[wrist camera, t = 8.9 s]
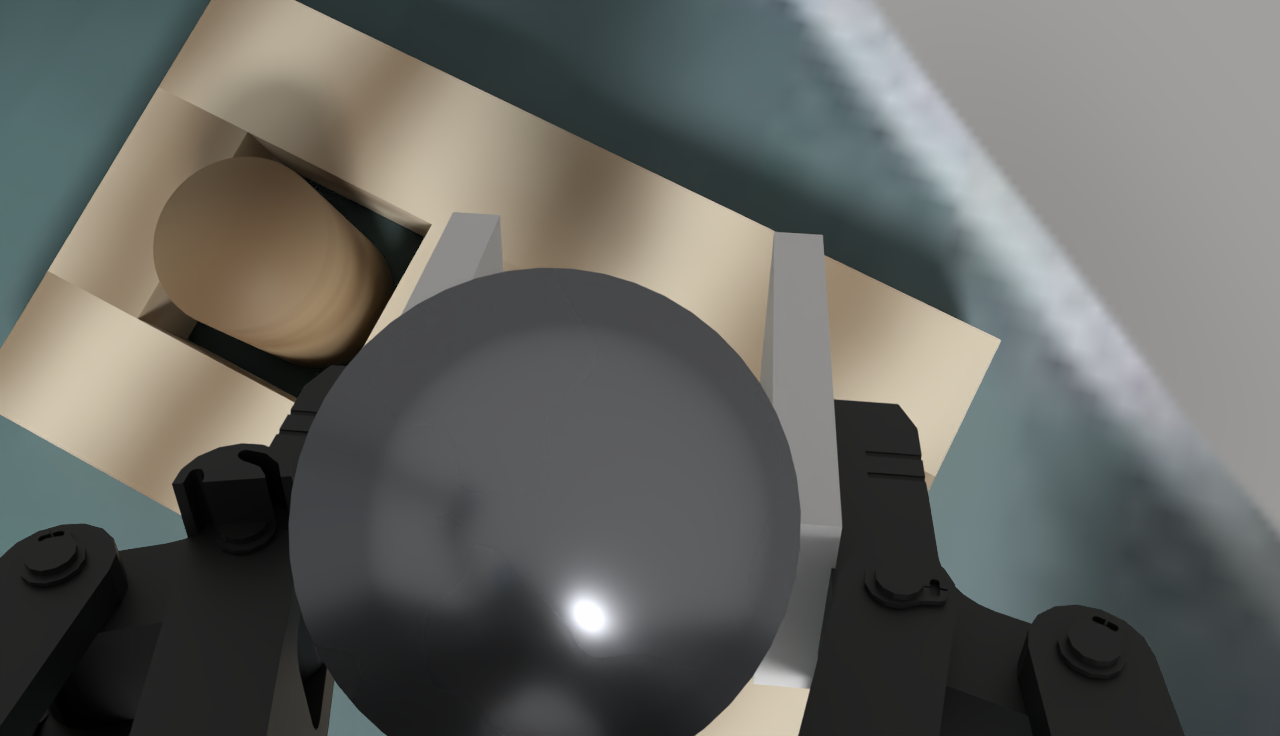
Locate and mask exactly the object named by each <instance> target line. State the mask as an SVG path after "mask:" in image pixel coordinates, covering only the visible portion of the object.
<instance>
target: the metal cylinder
mask: <svg viewBox="0 0 1280 736" xmlns="http://www.w3.org/2000/svg"><path fill="white" fill-rule="evenodd" d="M800 526H801V509H800V500H799V491H798V482H797V475H796V471H795V467H794V463H793V459H792V455H791V451H790V447H789V443H788V441H787V438H786V436H785V433H784V431H783V428H782V426H781V423H780V420H779V418H778V415H777V413H776V411H775V409H774V407H773V406H772V404H771V402H770V400H769V398H768V396H767V395H766V393H765V391H764V389H763V387H762V386H761V384H760V382H759V381H758V380H757V378H756V377H755V376H754V374H753V373H752V371H751V370H750V369H749V367H748V366H747V365H746V363H745V362H744V361H743V359H742V358H741V357H740V356H739V354H738V353H737V352H736V351H735V350H734V349H733V348H732V347H731V346H730V345H729V344H728V343H727V342H726V341H725V340H724V339H723V338H722V337H721V336H720V335H719V334H718V333H717V332H716V331H715V330H713V329H712V328H711V327H710V326H708V325H707V324H706V323H705V322H704V321H702V320H701V319H700V318H699V317H697V316H696V315H695V314H694V313H692V312H691V311H689V310H687V309H686V308H684V307H682V306H681V305H679V304H677V303H676V302H674V301H672V300H671V299H669V298H667V297H666V296H664V295H662V294H660V293H657V292H655V291H653V290H650V289H648V288H646V287H644V286H641V285H639V284H637V283H634V282H631V281H628V280H624V279H621V278H617V277H614V276H610V275H607V274H603V273H597V272H591V271H584V270H578V269H570V268H532V269H522V270H512V271H505V272H501V273H496V274H492V275H488V276H483V277H479V278H475V279H473V280H470V281H467V282H464V283H462V284H459V285H456V286H454V287H451V288H448V289H446V290H444V291H442V292H440V293H438V294H436V295H434V296H432V297H430V298H428V299H426V300H424V301H422V302H421V303H419V304H417V305H415V306H414V307H412V308H411V309H410V310H408V311H407V312H405V313H404V314H402V315H401V316H399V317H398V318H396V319H395V320H394V321H392V322H391V323H389V324H388V325H387V326H386V327H385V328H384V329H383V330H382V331H380V332H379V333H378V334H377V335H376V336H375V337H374V338H373V339H371V340H370V341H369V342H368V343H367V344H366V345H365V346H364V347H363V348H362V349H361V351H360V352H359V353H358V354H357V355H356V356H355V357H354V359H353V360H352V361H351V362H350V363H349V364H348V365H347V367H346V368H345V369H344V370H343V372H342V373H341V375H340V376H339V378H338V379H337V381H336V382H335V383H334V385H333V386H332V388H331V389H330V391H329V392H328V394H327V395H326V397H325V399H324V401H323V403H322V405H321V407H320V409H319V411H318V412H317V414H316V416H315V418H314V420H313V422H312V424H311V426H310V429H309V432H308V434H307V437H306V440H305V443H304V446H303V448H302V451H301V454H300V457H299V460H298V465H297V469H296V474H295V478H294V483H293V487H292V493H291V504H290V515H289V551H290V562H291V569H292V575H293V581H294V587H295V592H296V596H297V599H298V602H299V606H300V609H301V612H302V616H303V619H304V622H305V625H306V627H307V629H308V632H309V634H310V636H311V638H312V640H313V643H314V645H315V647H316V649H317V652H318V654H319V656H320V657H321V659H322V660H323V662H324V664H325V665H326V667H327V669H328V670H329V672H330V673H331V675H332V677H333V678H334V680H335V681H336V683H337V684H338V686H339V687H340V688H341V689H342V690H343V692H344V693H345V694H346V695H347V696H348V698H349V699H350V700H351V701H352V703H353V704H354V705H355V706H356V707H357V709H358V710H359V711H360V712H361V713H363V714H364V715H365V716H366V717H367V718H368V719H369V720H370V721H371V722H372V723H373V724H374V725H375V726H377V727H378V728H379V729H380V730H381V731H382V732H383V733H384V734H386V735H387V736H695V735H697V734H698V733H699V732H701V731H702V730H703V729H705V728H706V727H707V726H708V725H709V724H710V723H711V722H712V721H713V720H714V719H715V718H716V717H718V716H719V715H720V714H721V713H722V712H723V711H724V710H725V709H726V708H727V707H728V706H729V705H730V704H731V703H732V702H733V700H734V699H735V698H736V697H737V695H738V694H739V693H740V692H741V691H742V689H743V688H744V687H745V686H746V684H747V683H748V682H749V681H750V679H751V678H752V677H753V675H754V674H755V672H756V670H757V669H758V667H759V665H760V664H761V662H762V660H763V659H764V657H765V655H766V654H767V652H768V651H769V649H770V647H771V645H772V643H773V641H774V638H775V636H776V634H777V632H778V629H779V627H780V625H781V622H782V620H783V618H784V616H785V613H786V610H787V606H788V603H789V599H790V596H791V592H792V589H793V585H794V582H795V576H796V570H797V563H798V557H799V550H800Z"/></svg>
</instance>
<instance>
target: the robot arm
mask: <svg viewBox="0 0 1280 736" xmlns="http://www.w3.org/2000/svg"><path fill="white" fill-rule="evenodd" d="M501 272H504V271H503V255H502V240H501V224H500V215H493V214H477V213H461V212H453V213H452V215H451V217H450V219H449V221H448V223H447V225H446V227H445V229H444V231H443V233H442V235H441V237H440V239H439V241H438V243H437V245H436V247H435V249H434V251H433V253H432V255H431V257H430V259H429V261H428V263H427V265H426V267H425V269H424V271H423V273H422V275H421V276H420V278H419V280H418V282H417V284H416V286H415V288H414V290H413V292H412V294H411V296H410V298H409V300H408V302H407V304H406V306H405V308H404V310H403V312H402V314H404V313H405V312H407V311H408V310H410V309H411V308H412V307H414V306H415V305H417V304H419V303H421V302H422V301H424V300H426V299H428V298H430V297H432V296H434V295H436V294H438V293H440V292H442V291H444V290H446V289H448V288H451V287H454V286H456V285H459V284H462V283H464V282H467V281H470V280H473V279H475V278H479V277H483V276H488V275H492V274H496V273H501ZM402 314H401V315H402ZM346 367H347V366H335V365H331V366H329V367H328V368H327V369H326V370H324V371H323V372H322V373H320V374H319V375H318V376H316V377H315V378H314V379H313V380H311V381H310V382H309V383H307V384H306V385H305V386H304V387H303V389H302V391H301V393H300V394H299V396H298V398H297V399H296V401H295V403H294V405H293V406H292V408H291V413H290V415H289V414H288V415H287V417H286V418H285V420H284V422H283V424H282V425H281V427H280V429H279V434H276V436H275V437H274V439H273V441H272V443H271V444H270V446H269V447H268V446H266V445H262V444H246V443H240V444H235V445H229V446H223V447H218V448H216V449H214V450H211V451H209V452H207V453H204V454H202V455H200V456H197V457H196V458H195V459H194V460H192V461H191V462H190V463H188V464H187V465H186V466H184V467H183V468H182V469H181V470H180V472H179V473H178V475H177V476H176V478H175V480H174V481H173V483H172V486H173V490H174V493H175V496H176V500H177V503H178V506H179V509H180V513H181V516H182V519H183V523H184V526H185V529H186V533H187V536H188V538H186V539H183V540H179V541H175V542H171V543H166V544H160V545H154V546H148V547H141V548H135V549H128V550H122V551H118V549H117V546H116V543H115V541H114V539H113V538H112V537H111V536H110V535H109V534H108V533H107V532H106V531H105V530H104V529H102V528H98V527H95V526H91V525H87V524H66V525H59V526H56V527H52V528H48V529H45V530H41V531H38V532H36V533H34V534H33V535H31V536H29V537H27V538H25V539H23V540H21V541H19V542H17V543H16V544H15V545H14V546H13V547H12V548H11V549H9V550H8V551H7V552H6V553H5V554H4V555H3V556H2V557H1V558H0V736H327V734H328V726H329V718H330V710H331V702H332V694H333V686H334V678H333V677H332V675H331V673H330V672H329V670H328V669H327V667H326V665H325V664H324V662H323V660H322V659H321V657H320V656H319V654H318V652H317V649H316V647H315V645H314V643H313V640H312V638H311V636H310V634H309V632H308V629H307V627H306V625H305V622H304V619H303V616H302V612H301V609H300V606H299V602H298V599H297V596H296V592H295V587H294V581H293V575H292V569H291V562H290V551H289V515H290V504H291V493H292V487H293V483H294V478H295V474H296V469H297V465H298V460H299V457H300V454H301V451H302V448H303V446H304V443H305V440H306V437H307V434H308V432H309V429H310V426H311V424H312V422H313V420H314V418H315V416H316V414H317V412H318V411H319V409H320V407H321V405H322V403H323V401H324V399H325V397H326V395H327V394H328V392H329V391H330V389H331V388H332V386H333V385H334V383H335V382H336V381H337V379H338V378H339V376H340V375H341V373H342V372H343V370H344V369H345V368H346ZM760 384H761V386H762V387H763V389H764V391H765V393H766V395H767V396H768V398H769V400H770V402H771V404H772V406H773V407H774V409H775V411H776V413H777V415H778V418H779V420H780V423H781V426H782V428H783V431H784V433H785V436H786V438H787V441H788V443H789V447H790V451H791V455H792V459H793V463H794V467H795V471H796V475H797V482H798V491H799V500H800V509H801V526H800V550H799V557H798V563H797V570H796V576H795V582H794V585H793V589H792V592H791V596H790V599H789V603H788V606H787V610H786V613H785V616H784V618H783V620H782V622H781V625H780V627H779V629H778V632H777V634H776V636H775V638H774V641H773V643H772V645H771V647H770V649H769V651H768V652H767V654H766V655H765V657H764V659H763V660H762V662H761V664H760V665H759V667H758V669H757V670H756V672H755V674H754V675H753V684H761V685H772V686H783V687H793V688H804V689H810V691H809V695H808V699H807V703H806V707H805V711H804V715H803V719H802V723H801V726H800V730H799V734H798V736H1185V735H1184V733H1183V730H1182V727H1181V725H1180V722H1179V719H1178V717H1177V714H1176V711H1175V709H1174V706H1173V703H1172V701H1171V698H1170V695H1169V692H1168V690H1167V687H1166V684H1165V682H1164V679H1163V676H1162V674H1161V671H1160V668H1159V666H1158V663H1157V660H1156V657H1155V655H1154V654H1153V652H1152V650H1151V649H1150V647H1149V646H1148V644H1147V642H1146V641H1145V639H1144V637H1142V636H1141V635H1140V634H1139V633H1138V632H1137V631H1135V630H1134V629H1133V628H1132V627H1131V626H1130V625H1128V624H1127V623H1126V622H1125V621H1123V620H1121V619H1119V618H1117V617H1115V616H1113V615H1111V614H1109V613H1107V612H1105V611H1102V610H1099V609H1095V608H1090V607H1085V606H1080V605H1068V606H1056V607H1053V608H1051V609H1049V610H1047V611H1045V612H1043V613H1041V614H1039V615H1037V617H1036V618H1035V620H1034V621H1033V623H1032V624H1030V623H1027V622H1024V621H1021V620H1019V619H1016V618H1013V617H1010V616H1007V615H1004V614H1001V613H998V612H995V611H993V610H991V609H988V608H986V607H984V606H981V605H979V604H977V603H976V602H974V601H973V600H971V599H970V598H968V597H967V596H965V595H963V594H962V593H961V592H960V591H959V590H958V589H957V588H956V587H955V584H954V582H953V581H952V580H951V578H950V577H949V575H948V574H947V572H946V571H945V569H944V568H943V567H941V564H940V561H939V558H938V552H937V546H936V540H935V534H934V527H933V521H932V515H931V509H930V503H929V497H928V490H927V484H926V482H925V472H924V466H923V460H921V457H922V453H921V447H920V441H919V435H918V429H917V427H916V426H915V425H914V423H913V422H912V421H911V420H910V418H909V417H908V416H907V414H906V413H905V412H904V411H903V409H902V408H901V407H900V405H899V404H892V403H878V402H864V401H851V400H837V399H834V395H833V380H832V365H831V350H830V335H829V320H828V305H827V290H826V275H825V260H824V245H823V235H816V234H800V233H784V232H774V238H773V248H772V258H771V269H770V279H769V289H768V300H767V310H766V320H765V331H764V341H763V351H762V362H761V372H760Z"/></svg>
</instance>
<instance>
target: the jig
mask: <svg viewBox="0 0 1280 736" xmlns="http://www.w3.org/2000/svg"><path fill="white" fill-rule="evenodd" d="M297 173H298V174H300V175H302V176H304V177H306V178H308V179H310V180H312V181H314V182H316V183H318V184H320V185H322V186H324V187H326V188H328V189H330V190H332V191H334V192H336V193H338V194H340V195H342V196H344V197H346V198H348V199H350V200H352V201H354V202H356V203H358V204H360V205H362V206H364V207H366V208H368V209H370V210H372V211H373V212H375V213H377V214H379V215H381V216H383V217H385V218H387V219H389V220H391V221H393V222H395V223H397V224H399V225H401V226H403V227H405V228H407V229H409V230H411V231H413V232H415V233H417V234H419V235H421V236H423V237H425V238H424V240H423V241H422V243H421V245H420V247H419V249H418V250H417V252H416V254H415V256H414V257H413V259H412V261H411V263H410V265H409V266H408V268H407V270H406V272H405V274H404V275H403V277H402V279H401V281H400V282H399V284H398V286H397V288H396V290H395V291H394V287H393V279H392V275H391V272H390V269H389V266H388V264H387V262H386V260H385V258H384V256H383V255H382V254H381V252H380V251H379V249H378V248H377V247H376V246H375V245H374V244H373V243H372V242H371V241H370V240H369V239H368V238H366V237H365V236H364V235H363V234H362V233H361V232H360V231H359V230H358V229H357V228H356V227H355V226H354V225H352V224H351V223H350V222H349V221H348V220H347V219H346V218H345V217H344V216H343V215H342V214H341V213H340V212H338V211H337V210H336V209H335V208H334V207H333V206H332V205H331V204H330V203H329V202H328V201H327V200H326V199H325V198H323V197H322V196H321V195H320V194H319V193H318V192H317V191H316V190H315V189H314V188H313V187H312V186H311V185H309V184H308V183H307V182H306V181H305V180H304V179H303V178H302V177H301V176H299V175H298V174H297ZM453 212H461V213H477V214H493V215H500V224H501V240H502V255H503V271H504V272H505V271H512V270H522V269H532V268H570V269H578V270H584V271H591V272H597V273H603V274H607V275H610V276H614V277H617V278H621V279H624V280H628V281H631V282H634V283H637V284H639V285H641V286H644V287H646V288H648V289H650V290H653V291H655V292H657V293H660V294H662V295H664V296H666V297H667V298H669V299H671V300H672V301H674V302H676V303H677V304H679V305H681V306H682V307H684V308H686V309H687V310H689V311H691V312H692V313H694V314H695V315H696V316H697V317H699V318H700V319H701V320H702V321H704V322H705V323H706V324H707V325H708V326H710V327H711V328H712V329H713V330H715V331H716V332H717V333H718V334H719V335H720V336H721V337H722V338H723V339H724V340H725V341H726V342H727V343H728V344H729V345H730V346H731V347H732V348H733V349H734V350H735V351H736V352H737V353H738V354H739V356H740V357H741V358H742V359H743V361H744V362H745V363H746V365H747V366H748V367H749V369H750V370H751V371H752V373H753V374H754V376H755V377H756V378H757V380H758V381H759V382H760V372H761V362H762V351H763V341H764V331H765V320H766V310H767V300H768V289H769V279H770V269H771V258H772V248H773V238H774V232H775V231H773V230H771V229H769V228H767V227H765V226H763V225H761V224H759V223H757V222H755V221H753V220H750V219H748V218H746V217H744V216H742V215H740V214H738V213H736V212H734V211H732V210H730V209H728V208H726V207H723V206H721V205H719V204H717V203H715V202H713V201H711V200H709V199H707V198H705V197H703V196H701V195H698V194H696V193H694V192H692V191H690V190H688V189H686V188H684V187H682V186H680V185H678V184H676V183H674V182H671V181H669V180H667V179H665V178H663V177H661V176H659V175H657V174H655V173H653V172H651V171H649V170H646V169H644V168H642V167H640V166H638V165H636V164H634V163H632V162H630V161H628V160H626V159H624V158H622V157H619V156H617V155H615V154H613V153H611V152H609V151H607V150H605V149H603V148H601V147H599V146H597V145H595V144H592V143H590V142H588V141H586V140H584V139H582V138H580V137H578V136H576V135H574V134H572V133H570V132H567V131H565V130H563V129H561V128H559V127H557V126H555V125H553V124H551V123H549V122H547V121H545V120H543V119H540V118H538V117H536V116H534V115H532V114H530V113H528V112H526V111H524V110H522V109H520V108H518V107H516V106H513V105H511V104H509V103H507V102H505V101H503V100H501V99H499V98H497V97H495V96H493V95H491V94H488V93H486V92H484V91H482V90H480V89H478V88H476V87H474V86H472V85H470V84H468V83H466V82H464V81H461V80H459V79H457V78H455V77H453V76H451V75H449V74H447V73H445V72H443V71H441V70H439V69H436V68H434V67H432V66H430V65H428V64H426V63H424V62H422V61H420V60H418V59H416V58H414V57H412V56H409V55H407V54H405V53H403V52H401V51H399V50H397V49H395V48H393V47H391V46H389V45H387V44H385V43H382V42H380V41H378V40H376V39H374V38H372V37H370V36H368V35H366V34H364V33H362V32H360V31H357V30H355V29H353V28H351V27H349V26H347V25H345V24H343V23H341V22H339V21H337V20H335V19H333V18H330V17H328V16H326V15H324V14H322V13H320V12H318V11H316V10H314V9H312V8H310V7H308V6H306V5H303V4H301V3H299V2H297V1H295V0H211V1H210V3H209V4H208V6H207V8H206V9H205V11H204V13H203V14H202V16H201V18H200V19H199V21H198V23H197V24H196V26H195V28H194V29H193V31H192V33H191V34H190V36H189V38H188V39H187V41H186V43H185V44H184V46H183V48H182V49H181V51H180V53H179V54H178V56H177V58H176V59H175V61H174V62H173V64H172V66H171V67H170V69H169V71H168V72H167V74H166V76H165V77H164V79H163V81H162V82H161V84H160V86H159V87H158V89H157V91H156V92H155V94H154V96H153V97H152V99H151V101H150V102H149V104H148V106H147V107H146V109H145V111H144V112H143V114H142V116H141V117H140V119H139V120H138V122H137V124H136V125H135V127H134V129H133V130H132V132H131V134H130V135H129V137H128V139H127V140H126V142H125V144H124V145H123V147H122V149H121V150H120V152H119V154H118V155H117V157H116V159H115V160H114V162H113V164H112V165H111V167H110V169H109V170H108V172H107V174H106V175H105V177H104V179H103V180H102V182H101V183H100V185H99V187H98V188H97V190H96V192H95V193H94V195H93V197H92V198H91V200H90V202H89V203H88V205H87V207H86V208H85V210H84V212H83V213H82V215H81V217H80V218H79V220H78V222H77V223H76V225H75V227H74V228H73V230H72V232H71V233H70V235H69V237H68V238H67V240H66V241H65V243H64V245H63V246H62V248H61V250H60V251H59V253H58V255H57V256H56V258H55V260H54V261H53V263H52V265H51V266H50V268H49V270H48V271H47V273H46V275H45V276H44V278H43V280H42V281H41V283H40V285H39V286H38V288H37V290H36V291H35V293H34V295H33V296H32V298H31V299H30V301H29V303H28V304H27V306H26V308H25V309H24V311H23V313H22V314H21V316H20V318H19V319H18V321H17V323H16V324H15V326H14V328H13V329H12V331H11V333H10V334H9V336H8V338H7V339H6V341H5V343H4V344H3V346H2V348H1V349H0V415H2V416H4V417H6V418H8V419H9V420H11V421H13V422H15V423H17V424H18V425H20V426H22V427H24V428H26V429H27V430H29V431H31V432H33V433H35V434H36V435H38V436H40V437H42V438H43V439H45V440H47V441H49V442H51V443H52V444H54V445H56V446H58V447H60V448H61V449H63V450H65V451H67V452H69V453H70V454H72V455H74V456H76V457H78V458H79V459H81V460H83V461H85V462H87V463H88V464H90V465H92V466H94V467H96V468H97V469H99V470H101V471H103V472H105V473H106V474H108V475H110V476H112V477H113V478H115V479H117V480H119V481H121V482H122V483H124V484H126V485H128V486H130V487H131V488H133V489H135V490H137V491H139V492H140V493H142V494H144V495H146V496H148V497H149V498H151V499H153V500H155V501H157V502H158V503H160V504H162V505H164V506H166V507H167V508H169V509H171V510H173V511H175V512H176V513H178V514H180V515H181V513H180V509H179V506H178V503H177V500H176V496H175V493H174V490H173V486H172V483H173V481H174V480H175V478H176V476H177V475H178V473H179V472H180V470H181V469H182V468H183V467H184V466H186V465H187V464H188V463H190V462H191V461H192V460H194V459H195V458H196V457H197V456H200V455H202V454H204V453H207V452H209V451H211V450H214V449H216V448H218V447H223V446H229V445H235V444H240V443H246V444H262V445H266V446H268V447H269V446H270V444H271V443H272V441H273V439H274V437H275V436H276V434H279V429H280V427H281V425H282V424H283V422H284V420H285V418H286V417H287V415H288V414H289V415H290V413H291V408H292V406H293V405H294V403H295V401H296V399H297V397H295V396H293V395H291V394H289V393H287V392H285V391H283V390H282V389H280V388H278V387H276V386H274V385H272V384H270V383H268V382H267V381H265V380H263V379H261V378H259V377H257V376H255V375H253V374H252V373H250V372H248V371H246V370H244V369H242V368H240V367H238V366H237V365H235V364H233V363H231V362H229V361H227V360H225V359H223V358H222V357H220V356H218V355H216V354H214V353H212V352H210V351H208V350H207V349H205V348H203V347H201V346H199V345H197V344H195V343H193V342H192V341H190V340H188V337H189V336H190V334H191V332H192V330H193V329H194V327H195V325H196V324H197V322H198V321H199V322H202V323H204V324H206V325H208V326H210V327H213V328H215V329H217V330H219V331H221V332H224V333H226V334H228V335H230V336H232V337H235V338H237V339H239V340H241V341H243V342H245V343H248V344H250V345H252V346H254V347H256V348H259V349H261V350H263V351H265V352H267V353H270V354H272V355H274V356H276V357H278V358H281V359H283V360H285V361H287V362H289V363H292V364H294V365H298V366H301V367H307V368H328V367H329V366H331V365H335V366H338V365H341V364H344V363H346V362H349V361H351V360H353V359H354V357H355V356H356V355H357V354H358V353H359V352H360V351H361V349H362V348H363V347H364V346H365V345H366V344H367V343H368V342H369V341H370V340H371V339H373V338H374V337H375V336H376V335H377V334H378V333H379V332H380V331H382V330H383V329H384V328H385V327H386V326H387V325H388V324H389V323H391V322H392V321H394V320H395V319H396V318H398V317H399V316H401V314H402V312H403V310H404V308H405V306H406V304H407V302H408V300H409V298H410V296H411V294H412V292H413V290H414V288H415V286H416V284H417V282H418V280H419V278H420V276H421V275H422V273H423V271H424V269H425V267H426V265H427V263H428V261H429V259H430V257H431V255H432V253H433V251H434V249H435V247H436V245H437V243H438V241H439V239H440V237H441V235H442V233H443V231H444V229H445V227H446V225H447V223H448V221H449V219H450V217H451V215H452V213H453ZM824 260H825V275H826V290H827V305H828V320H829V335H830V350H831V365H832V380H833V395H834V399H837V400H851V401H864V402H878V403H892V404H899V405H900V407H901V408H902V409H903V411H904V412H905V413H906V414H907V416H908V417H909V418H910V420H911V421H912V422H913V423H914V425H915V426H916V427H917V429H918V435H919V441H920V447H921V453H922V457H921V460H923V466H924V472H925V482H926V484H927V490H928V491H929V489H930V486H931V484H932V482H933V480H934V478H935V476H936V474H937V472H938V470H939V468H940V466H941V464H942V462H943V460H944V458H945V455H946V453H947V451H948V449H949V447H950V445H951V443H952V441H953V439H954V437H955V435H956V433H957V431H958V429H959V427H960V424H961V422H962V420H963V418H964V416H965V414H966V412H967V410H968V408H969V406H970V404H971V402H972V400H973V398H974V395H975V393H976V391H977V389H978V387H979V385H980V383H981V381H982V379H983V377H984V375H985V373H986V371H987V369H988V367H989V364H990V362H991V360H992V358H993V356H994V354H995V352H996V350H997V348H998V346H999V344H1000V342H1001V340H1000V339H998V338H996V337H994V336H992V335H990V334H987V333H985V332H983V331H981V330H979V329H977V328H975V327H973V326H971V325H969V324H967V323H965V322H963V321H960V320H958V319H956V318H954V317H952V316H950V315H948V314H946V313H944V312H942V311H940V310H938V309H936V308H933V307H931V306H929V305H927V304H925V303H923V302H921V301H919V300H917V299H915V298H913V297H911V296H908V295H906V294H904V293H902V292H900V291H898V290H896V289H894V288H892V287H890V286H888V285H886V284H884V283H881V282H879V281H877V280H875V279H873V278H871V277H869V276H867V275H865V274H863V273H861V272H859V271H857V270H854V269H852V268H850V267H848V266H846V265H844V264H842V263H840V262H838V261H836V260H834V259H832V258H829V257H827V256H825V255H824ZM809 691H810V689H804V688H793V687H783V686H772V685H761V684H753V677H752V678H751V679H750V681H749V682H748V683H747V684H746V686H745V687H744V688H743V689H742V691H741V692H740V693H739V694H738V695H737V697H736V698H735V699H734V700H733V702H732V703H731V704H730V705H729V706H728V707H727V708H726V709H725V710H724V711H723V712H722V713H721V714H720V715H719V716H718V717H716V718H715V719H714V720H713V721H712V722H711V723H710V724H709V725H708V726H707V727H706V728H705V729H703V730H702V731H701V732H699V733H698V734H697V735H695V736H798V734H799V730H800V726H801V723H802V719H803V715H804V711H805V707H806V703H807V699H808V695H809Z"/></svg>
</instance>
